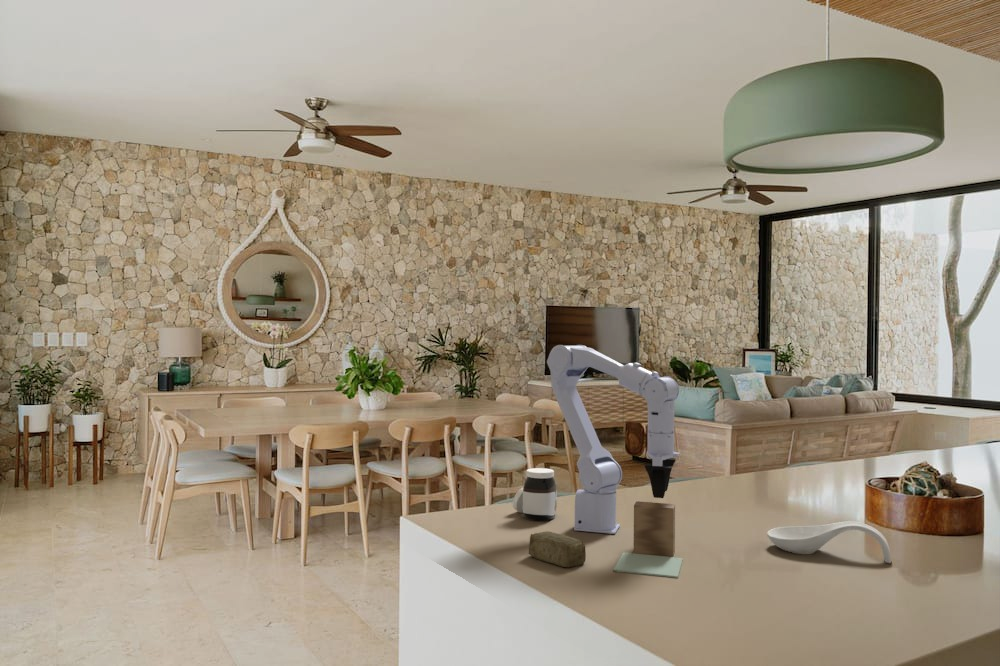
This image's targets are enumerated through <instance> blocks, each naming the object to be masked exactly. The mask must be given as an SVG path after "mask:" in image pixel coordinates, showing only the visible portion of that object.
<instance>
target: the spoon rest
mask: <svg viewBox="0 0 1000 666" xmlns="http://www.w3.org/2000/svg"><path fill="white" fill-rule="evenodd" d="M847 531H860V532H864V533H866V534H868V535H870V536H871V537H873V538H874V539H875V540H876V541H877V542H878V544H879V545H880V548H881V550H882V555H883V560H884V562H885V563H887V564H891V563H892V555H891V549H890V545H889V543H888V540H887V539H886V537H885V535H883V533H882V532H880V531H879V530H877V529H876V528H875V527H873V526H871V525H869V524H866V523H863V522H860V521H856V520H855V521H853V520H849V521H848V520H846V521H838V522H833V523H828V524H820V525H789V526H777V527H774V528H772V529H769V530H768V531H767V532H766V536H767V538H768V539H769V540H770V542H771V543H772V544H774V545H775V546H776V547H777V548H779V549H781V550H783V551H785V552H787V551H788V553H791V552H792V554H798V555H810V554H815V553H816V551H818V550H820V549H821V548H823V546H825V545H826V544H827V543H828V542H830V541H831V540H832V539H834V538H835V537H837V536H838V535H840V534H841V533H845V532H847Z"/></svg>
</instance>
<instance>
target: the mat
mask: <svg viewBox="0 0 1000 666" xmlns="http://www.w3.org/2000/svg"><path fill="white" fill-rule="evenodd" d="M683 560H684V558H683V557H675V556H673V557H666V556H655V555H645V554H635V553H634V552H633V553H632V552H622V554H621V556H620V557H619V559H618V560H617V562H616V564H615V566H614V568H613V572H618V573H628V574H629V573H630V574H639V575H647V576H656V577H663V578H664V577H665V578H667V577H668V578H672V579H673V578H675V579H678V578H679V576H680V571H681V568H682V564H683V562H684V561H683Z"/></svg>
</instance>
